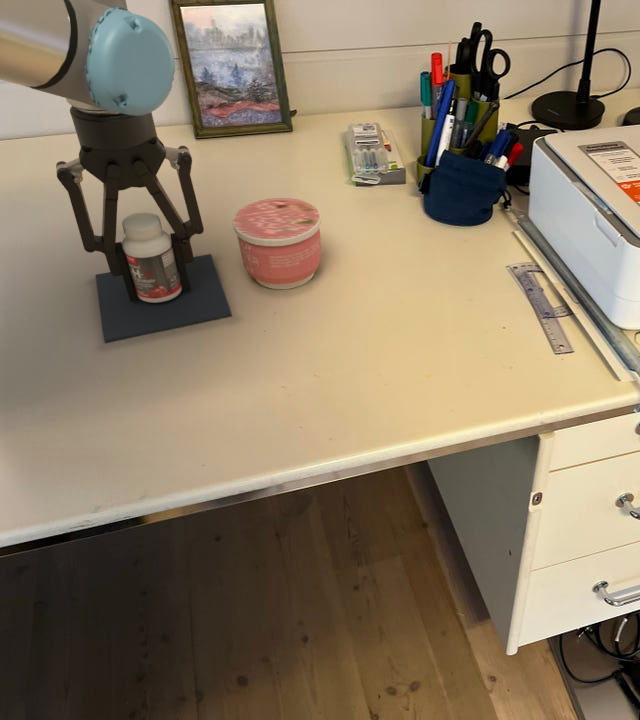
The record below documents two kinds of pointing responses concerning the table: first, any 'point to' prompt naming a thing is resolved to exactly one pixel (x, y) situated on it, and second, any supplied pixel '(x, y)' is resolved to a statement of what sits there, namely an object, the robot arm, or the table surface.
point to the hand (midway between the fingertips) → (159, 289)
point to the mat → (161, 303)
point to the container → (279, 241)
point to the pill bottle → (150, 258)
